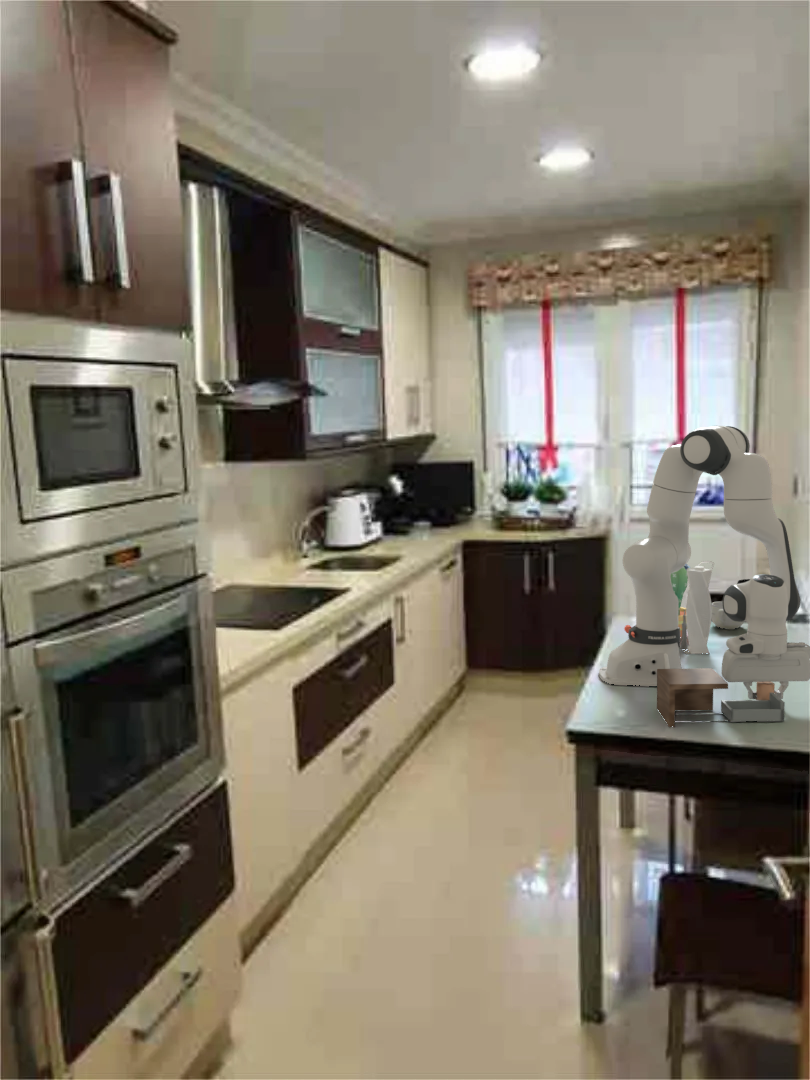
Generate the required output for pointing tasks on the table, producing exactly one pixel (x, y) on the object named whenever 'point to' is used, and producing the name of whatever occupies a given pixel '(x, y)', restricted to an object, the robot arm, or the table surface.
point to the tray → (754, 709)
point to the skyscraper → (697, 611)
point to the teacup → (722, 617)
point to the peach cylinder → (764, 690)
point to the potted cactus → (680, 590)
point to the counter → (686, 690)
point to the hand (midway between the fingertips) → (765, 698)
